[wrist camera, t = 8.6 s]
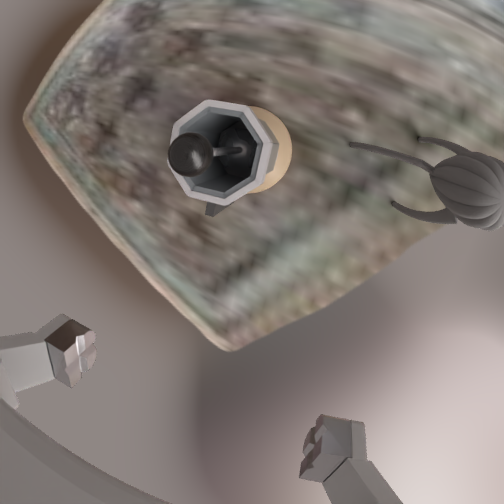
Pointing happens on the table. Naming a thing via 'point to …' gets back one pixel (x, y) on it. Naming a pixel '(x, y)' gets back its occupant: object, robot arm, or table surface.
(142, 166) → the table surface
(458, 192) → the citrus juicer
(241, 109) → the grey octagonal cup
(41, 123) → the table surface
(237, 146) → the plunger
